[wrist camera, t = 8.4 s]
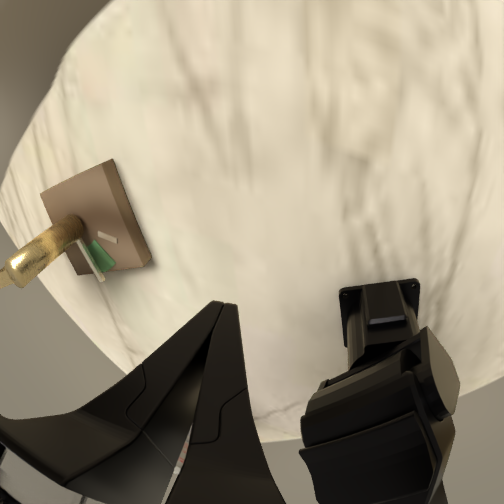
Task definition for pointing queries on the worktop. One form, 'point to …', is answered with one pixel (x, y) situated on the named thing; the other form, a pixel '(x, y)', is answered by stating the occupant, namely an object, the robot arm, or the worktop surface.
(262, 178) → the worktop surface
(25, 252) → the dial handle
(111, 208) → the dial board
